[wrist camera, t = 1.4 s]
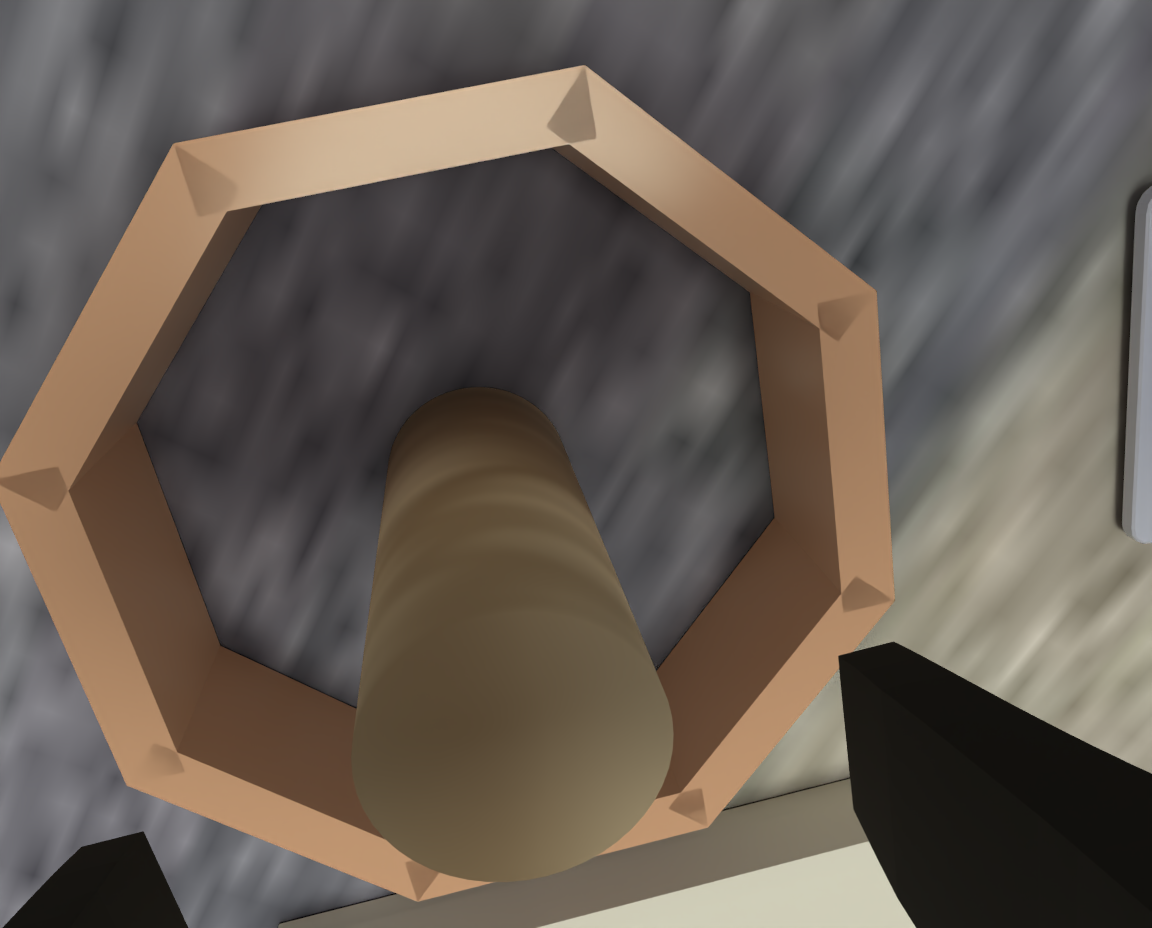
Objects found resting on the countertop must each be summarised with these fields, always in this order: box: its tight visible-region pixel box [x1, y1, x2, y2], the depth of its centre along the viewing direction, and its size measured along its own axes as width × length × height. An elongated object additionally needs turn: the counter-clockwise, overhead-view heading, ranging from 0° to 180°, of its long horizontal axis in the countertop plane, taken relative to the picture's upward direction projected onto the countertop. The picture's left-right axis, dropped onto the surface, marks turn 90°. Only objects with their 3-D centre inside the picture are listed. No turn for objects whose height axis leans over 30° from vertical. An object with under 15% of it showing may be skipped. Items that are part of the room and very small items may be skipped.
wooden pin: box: [351, 387, 674, 882], centre depth 14 cm, size 4×4×9 cm
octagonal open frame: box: [0, 65, 895, 902], centre depth 17 cm, size 14×14×4 cm
